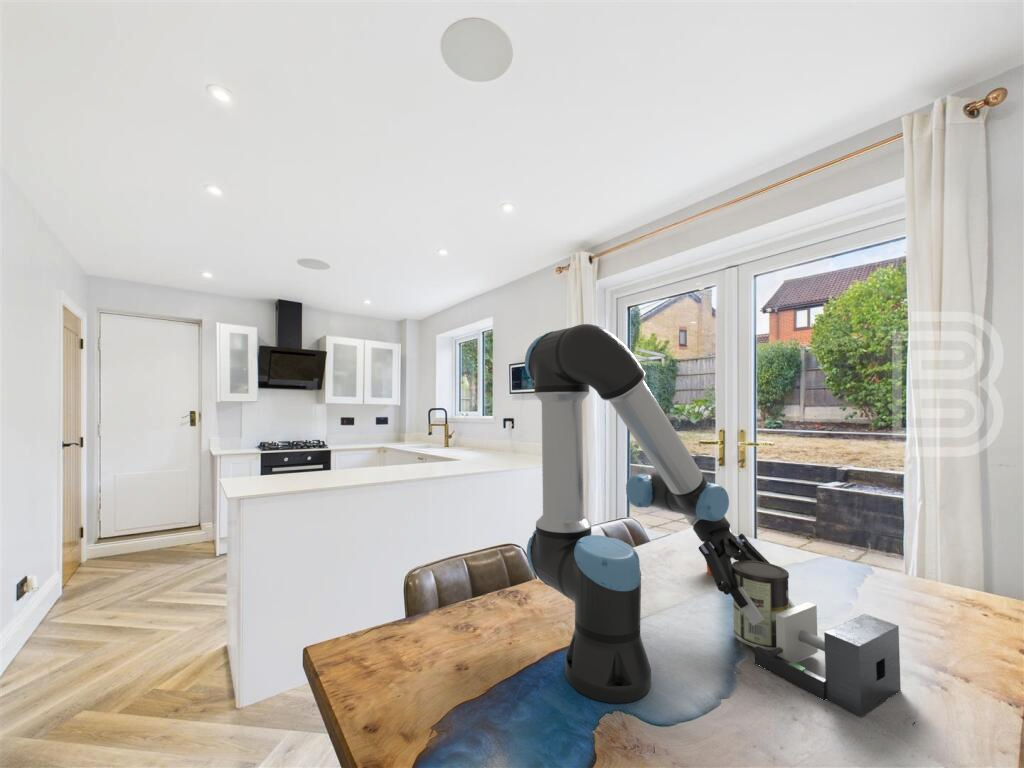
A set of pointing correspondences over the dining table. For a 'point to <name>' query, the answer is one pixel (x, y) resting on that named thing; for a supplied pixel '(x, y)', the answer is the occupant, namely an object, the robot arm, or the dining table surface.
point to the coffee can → (760, 601)
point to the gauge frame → (848, 665)
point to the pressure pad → (797, 633)
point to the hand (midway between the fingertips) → (774, 616)
